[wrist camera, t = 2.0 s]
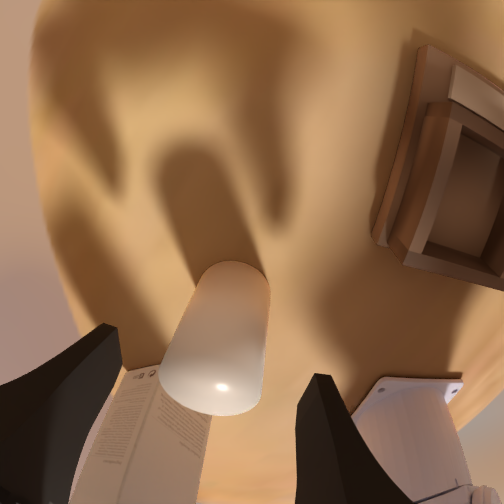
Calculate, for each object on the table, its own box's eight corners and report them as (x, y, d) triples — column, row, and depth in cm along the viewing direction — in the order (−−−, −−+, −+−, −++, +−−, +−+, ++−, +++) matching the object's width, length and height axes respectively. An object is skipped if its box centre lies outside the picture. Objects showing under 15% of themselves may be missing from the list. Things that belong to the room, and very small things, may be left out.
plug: (262, 327, 15) (250, 422, 10) (195, 312, 15) (159, 401, 10) (278, 269, 14) (272, 365, 8) (202, 253, 14) (156, 339, 8)
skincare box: (124, 370, 19) (56, 510, 8) (169, 359, 17) (101, 533, 6) (174, 418, 21) (134, 545, 10) (220, 412, 19) (187, 560, 9)
